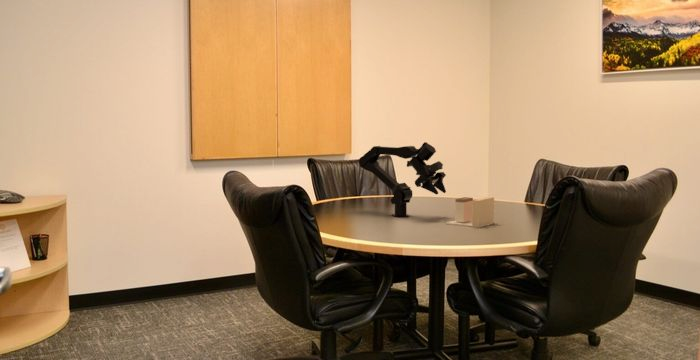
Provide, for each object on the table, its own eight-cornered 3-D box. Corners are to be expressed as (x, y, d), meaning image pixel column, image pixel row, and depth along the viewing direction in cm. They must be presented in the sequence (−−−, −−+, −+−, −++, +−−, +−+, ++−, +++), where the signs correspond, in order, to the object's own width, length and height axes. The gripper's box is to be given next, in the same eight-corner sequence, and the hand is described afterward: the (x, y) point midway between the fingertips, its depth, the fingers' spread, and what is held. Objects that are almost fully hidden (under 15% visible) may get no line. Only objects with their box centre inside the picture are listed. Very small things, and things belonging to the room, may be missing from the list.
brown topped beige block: (455, 221, 278) (455, 199, 277) (464, 219, 285) (464, 197, 284) (463, 222, 276) (463, 199, 275) (472, 220, 282) (472, 197, 281)
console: (445, 223, 278) (446, 197, 277) (461, 219, 289) (461, 194, 288) (478, 227, 268) (479, 200, 267) (493, 223, 279) (494, 197, 278)
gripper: (420, 156, 281) (442, 183, 275) (442, 154, 295) (463, 179, 289) (405, 173, 287) (426, 199, 281) (427, 170, 301) (447, 195, 295)
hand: (441, 193), depth 286 cm, fingers open, 6 cm apart
